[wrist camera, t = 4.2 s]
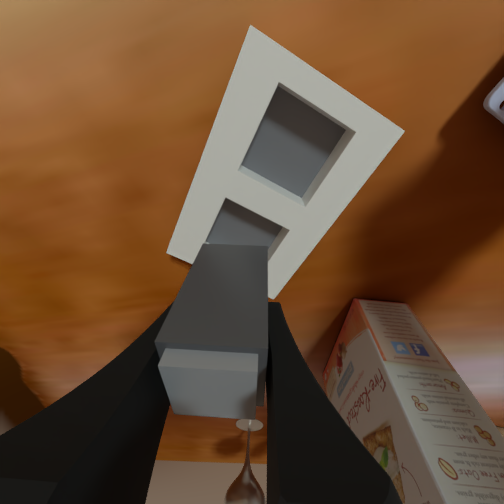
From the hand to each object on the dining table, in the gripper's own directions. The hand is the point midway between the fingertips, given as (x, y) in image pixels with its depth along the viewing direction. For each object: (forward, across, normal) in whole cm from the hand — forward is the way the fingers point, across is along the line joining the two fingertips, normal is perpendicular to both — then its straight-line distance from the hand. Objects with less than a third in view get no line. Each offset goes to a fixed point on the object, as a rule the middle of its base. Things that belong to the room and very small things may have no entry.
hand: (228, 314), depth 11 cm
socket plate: (+10, -2, -3) cm, 11 cm away
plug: (+3, 0, 0) cm, 3 cm away
